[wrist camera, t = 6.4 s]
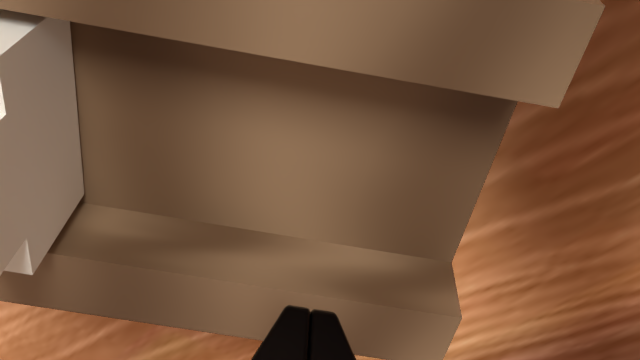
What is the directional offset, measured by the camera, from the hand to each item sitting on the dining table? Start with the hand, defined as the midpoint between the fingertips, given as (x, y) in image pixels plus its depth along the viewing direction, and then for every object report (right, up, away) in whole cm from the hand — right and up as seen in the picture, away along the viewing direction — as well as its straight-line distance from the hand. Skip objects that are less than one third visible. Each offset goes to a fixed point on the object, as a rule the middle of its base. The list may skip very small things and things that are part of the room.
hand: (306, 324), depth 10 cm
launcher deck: (-3, +7, +8) cm, 11 cm away
